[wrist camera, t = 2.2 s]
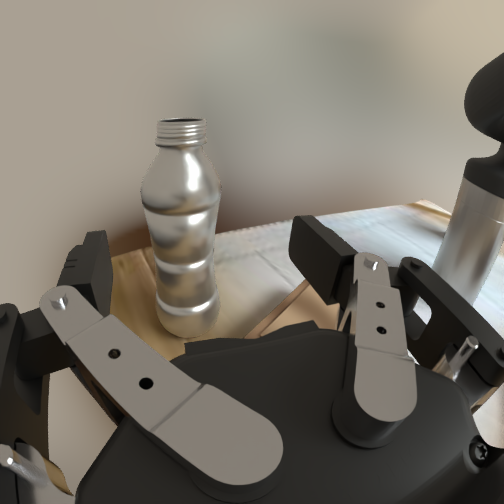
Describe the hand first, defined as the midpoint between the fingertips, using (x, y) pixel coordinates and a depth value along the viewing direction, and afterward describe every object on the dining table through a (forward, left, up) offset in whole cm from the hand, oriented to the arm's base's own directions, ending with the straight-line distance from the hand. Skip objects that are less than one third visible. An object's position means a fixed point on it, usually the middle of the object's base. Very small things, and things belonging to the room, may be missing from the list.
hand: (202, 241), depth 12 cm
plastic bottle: (-7, -9, -16) cm, 20 cm away
